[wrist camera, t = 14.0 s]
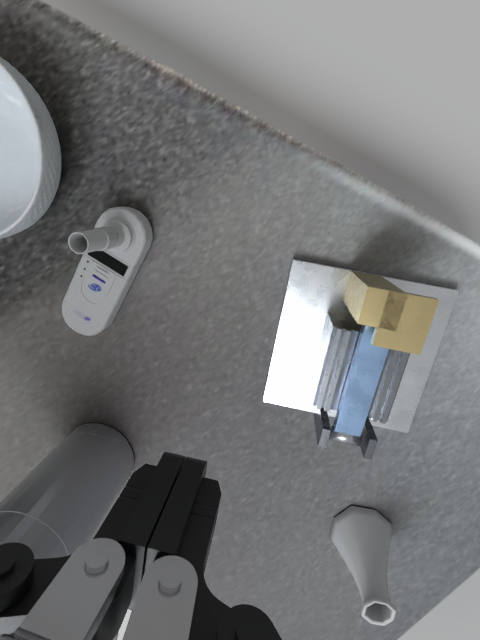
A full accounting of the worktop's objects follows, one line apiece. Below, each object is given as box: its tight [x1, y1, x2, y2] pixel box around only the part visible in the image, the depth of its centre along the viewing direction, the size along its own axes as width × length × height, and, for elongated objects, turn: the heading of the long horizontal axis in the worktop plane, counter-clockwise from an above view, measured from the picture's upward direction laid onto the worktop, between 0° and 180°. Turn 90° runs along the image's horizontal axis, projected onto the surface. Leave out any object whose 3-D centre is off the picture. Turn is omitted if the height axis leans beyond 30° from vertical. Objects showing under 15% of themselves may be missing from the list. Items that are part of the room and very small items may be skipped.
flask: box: [330, 506, 397, 626], centre depth 40 cm, size 7×7×10 cm
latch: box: [343, 271, 439, 355], centre depth 32 cm, size 4×5×8 cm
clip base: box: [263, 259, 459, 460], centre depth 34 cm, size 16×16×8 cm
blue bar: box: [329, 325, 389, 446], centre depth 32 cm, size 12×3×1 cm, turn 170°
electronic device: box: [62, 207, 153, 336], centre depth 35 cm, size 5×10×15 cm
